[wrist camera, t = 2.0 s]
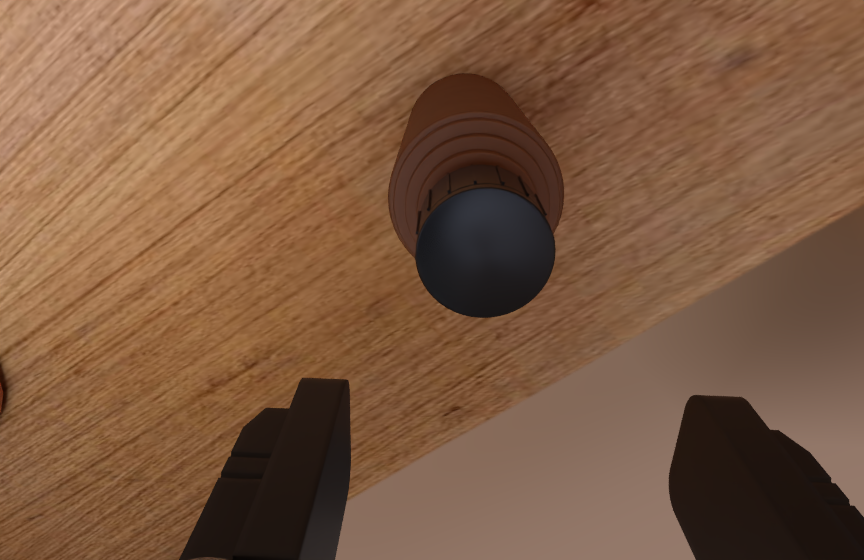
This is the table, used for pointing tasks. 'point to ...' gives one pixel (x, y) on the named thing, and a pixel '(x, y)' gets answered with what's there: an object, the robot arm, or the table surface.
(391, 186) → the bottle
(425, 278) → the cap
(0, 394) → the dish
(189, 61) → the table surface
